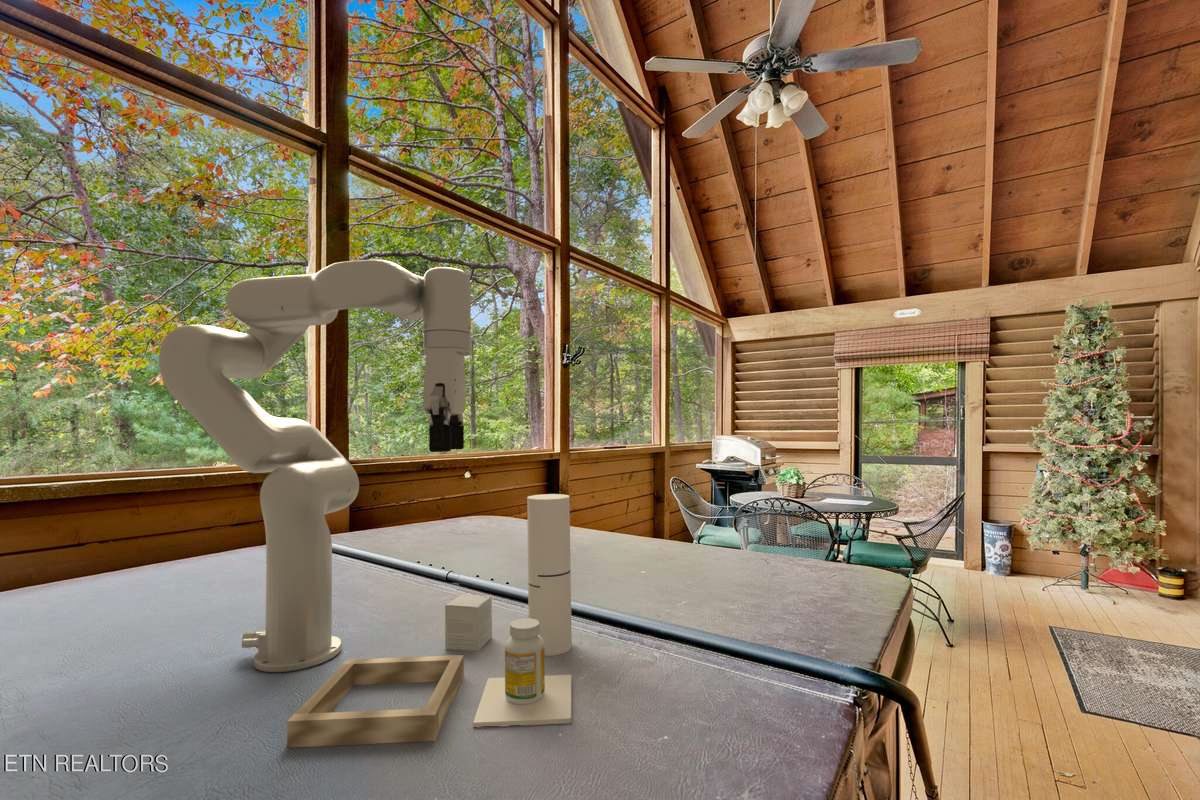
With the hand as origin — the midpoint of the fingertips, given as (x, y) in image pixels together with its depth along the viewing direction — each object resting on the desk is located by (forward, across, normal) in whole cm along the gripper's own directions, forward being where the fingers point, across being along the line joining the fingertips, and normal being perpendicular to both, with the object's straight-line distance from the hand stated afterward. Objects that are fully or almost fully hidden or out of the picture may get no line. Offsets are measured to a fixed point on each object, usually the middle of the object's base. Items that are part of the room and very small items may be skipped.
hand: (447, 450), depth 88 cm
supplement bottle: (+33, +14, +13) cm, 38 cm away
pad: (+33, +14, +14) cm, 39 cm away
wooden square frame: (+33, +14, -5) cm, 36 cm away
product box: (+34, -7, +2) cm, 34 cm away
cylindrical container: (+34, -4, +16) cm, 37 cm away
